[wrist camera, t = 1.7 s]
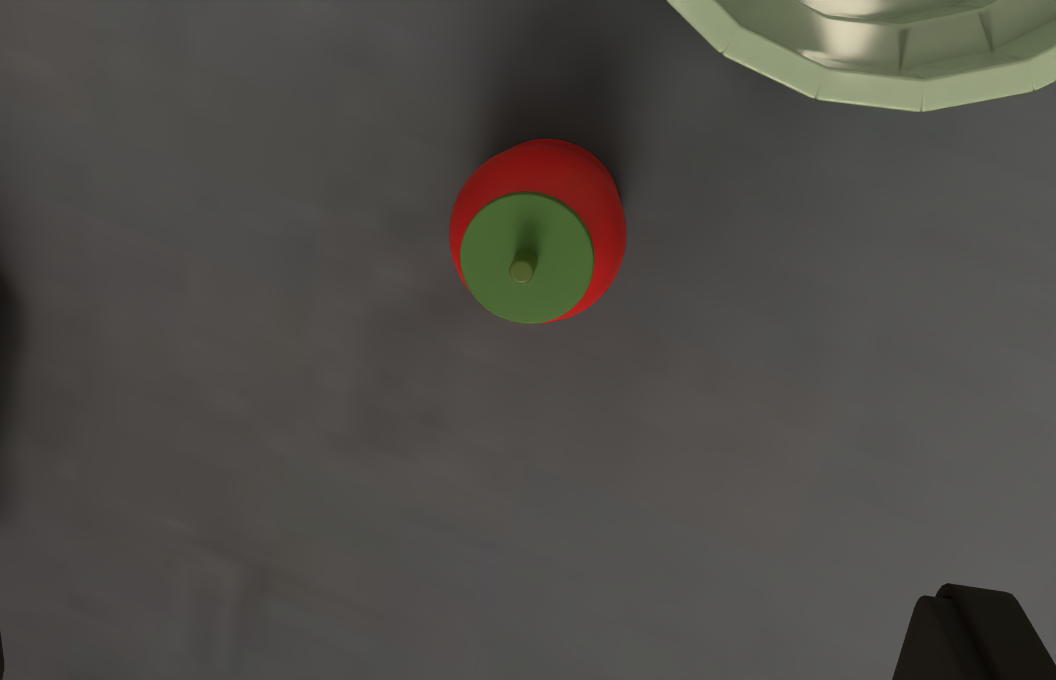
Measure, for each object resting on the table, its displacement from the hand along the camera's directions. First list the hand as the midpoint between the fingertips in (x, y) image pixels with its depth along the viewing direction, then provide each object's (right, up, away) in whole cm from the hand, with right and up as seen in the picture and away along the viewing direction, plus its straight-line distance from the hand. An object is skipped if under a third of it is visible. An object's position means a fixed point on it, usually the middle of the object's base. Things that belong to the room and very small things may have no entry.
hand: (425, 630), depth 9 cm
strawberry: (+2, +6, +14) cm, 16 cm away
